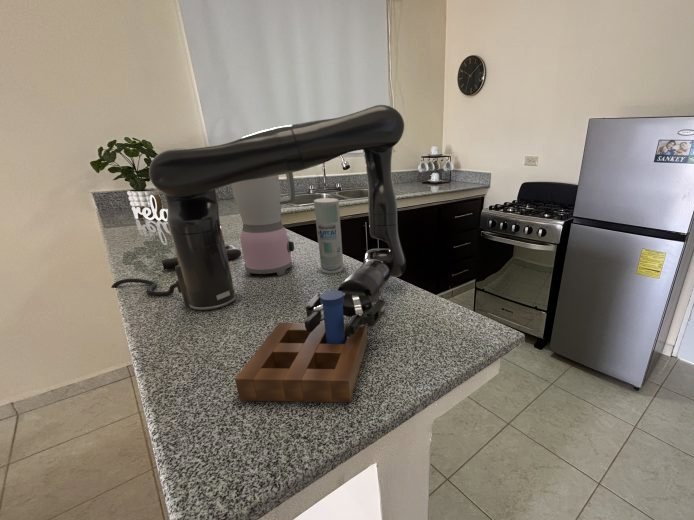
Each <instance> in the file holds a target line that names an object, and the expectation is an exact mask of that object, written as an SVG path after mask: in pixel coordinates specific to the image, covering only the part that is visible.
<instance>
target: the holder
mask: <svg viewBox="0 0 694 520" xmlns="http://www.w3.org/2000/svg"><path fill="white" fill-rule="evenodd" d="M346 324H347V323H344V328H345V326H346ZM345 340H346V342H345V344H327V342H326V332H325V322H320V323H319V325H318V326H317V327H316V328H315V329H314V330H313V331H312V332H307V331H306V329H305V323H304V322H278V323H277V325H276V326H275V327H274V329H272V331H271V333H270V334H269V335H268V336H267V337H266V339H265V340H264V341H263V342H262V344H261V345H260V346H259V348H258V349H257V350H256V351H255V352H254V354H253V355H252V356H251V357H250V359H249V360H248V361H247V363H246V364H245V365H244V367H243V368H242V369H241V370H240V372H239V373H238V374H237V376H236V377H235V378H234V381H235V386H236V389H237V394H238V399H239V402H287V403H289V402H293V403H298V402H299V403H303V402H304V403H352V399H353V394H354V391H355V388H356V384H357V380H358V376H359V374H360V370H361V367H362V364H363V359H364V356H365V352H366V349H367V345H368V324H364V326H362V327H360V328H359V330H358V331H357V332H356V333H355V334H352V336H351V337H348V336H346V332H345Z"/></svg>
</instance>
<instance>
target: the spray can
mask: <svg viewBox="0 0 694 520" xmlns="http://www.w3.org/2000/svg"><path fill="white" fill-rule="evenodd" d="M313 208H314V216H315V217H314V218H315V225H316V226H315V227H316V234H317V243H318V251H319V253H318V254H319V262H320V269H321V272H322V273H324V274H336V273H337V274H338V273H340V272H342V271H343V270H344V256H343V243H342V242H343V241H342V228H341V215H340V214H341V213H340V200H339V199H338V198H335V197H334V198H333V197H331V198H330V197H322V198H316V199H314V200H313Z"/></svg>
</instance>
